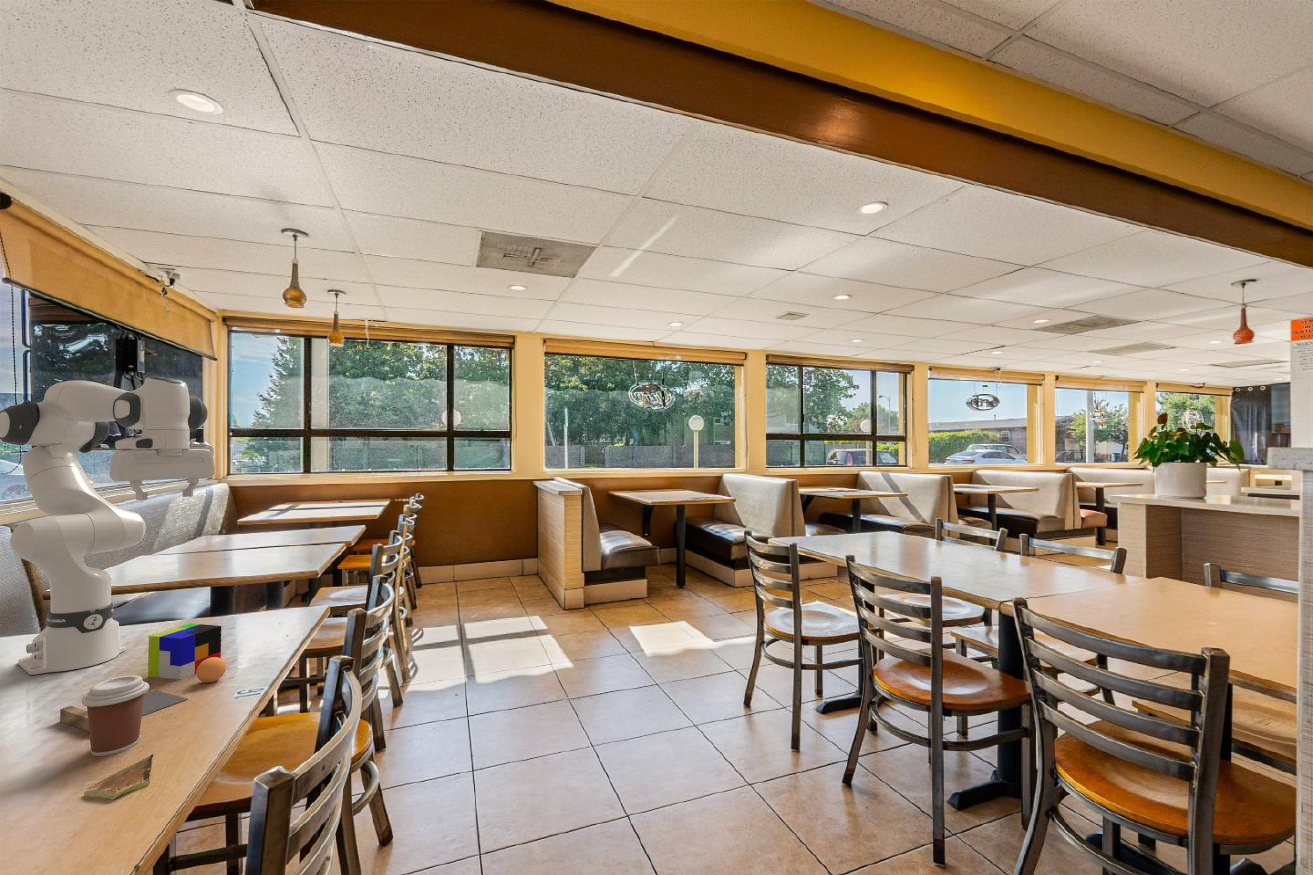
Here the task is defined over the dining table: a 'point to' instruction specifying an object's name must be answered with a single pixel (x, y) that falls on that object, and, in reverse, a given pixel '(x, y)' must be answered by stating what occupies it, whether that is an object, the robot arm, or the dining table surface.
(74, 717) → the brown long bar
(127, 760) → the dining table surface
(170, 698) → the mark
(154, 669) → the puzzle toy
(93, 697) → the coffee cup
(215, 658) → the ball
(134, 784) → the shard
